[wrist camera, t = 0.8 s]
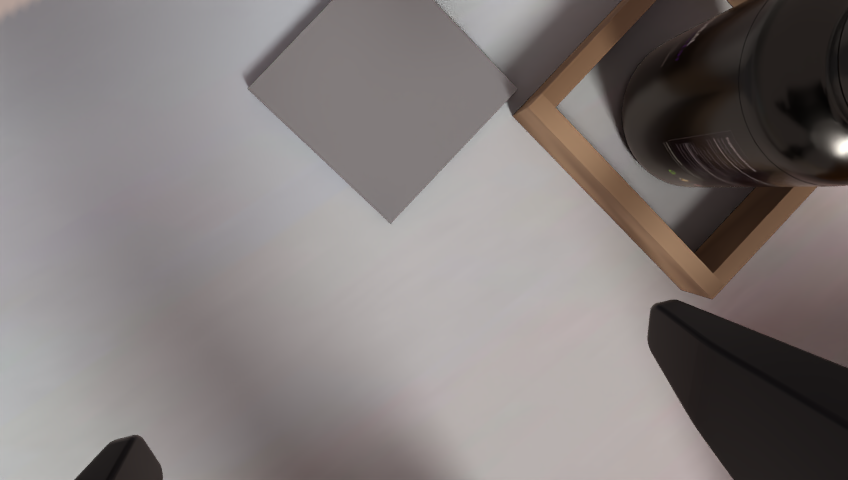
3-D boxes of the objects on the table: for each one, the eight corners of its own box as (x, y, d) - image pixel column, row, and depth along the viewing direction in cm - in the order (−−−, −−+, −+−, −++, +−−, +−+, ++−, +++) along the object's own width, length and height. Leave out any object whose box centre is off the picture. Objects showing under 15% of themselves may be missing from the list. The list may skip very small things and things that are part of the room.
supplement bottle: (652, 13, 23) (960, -185, 11) (776, 77, 24) (1183, -40, 12) (590, 153, 23) (827, 109, 11) (715, 212, 24) (1055, 228, 12)
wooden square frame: (845, 114, 24) (892, 106, 22) (681, 289, 24) (712, 299, 22) (689, -72, 23) (723, -100, 21) (512, 115, 23) (527, 107, 20)
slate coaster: (514, 91, 22) (517, 88, 22) (389, 222, 22) (390, 223, 22) (382, -46, 21) (382, -53, 21) (250, 91, 21) (247, 88, 21)
